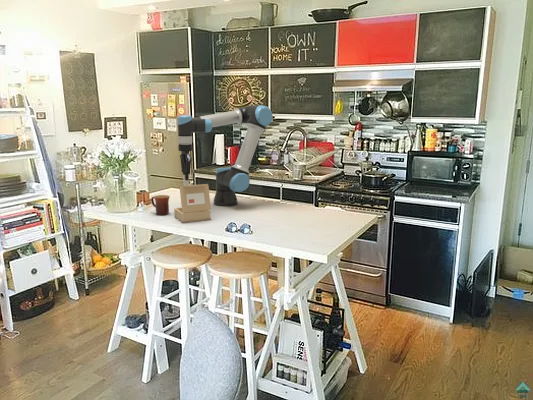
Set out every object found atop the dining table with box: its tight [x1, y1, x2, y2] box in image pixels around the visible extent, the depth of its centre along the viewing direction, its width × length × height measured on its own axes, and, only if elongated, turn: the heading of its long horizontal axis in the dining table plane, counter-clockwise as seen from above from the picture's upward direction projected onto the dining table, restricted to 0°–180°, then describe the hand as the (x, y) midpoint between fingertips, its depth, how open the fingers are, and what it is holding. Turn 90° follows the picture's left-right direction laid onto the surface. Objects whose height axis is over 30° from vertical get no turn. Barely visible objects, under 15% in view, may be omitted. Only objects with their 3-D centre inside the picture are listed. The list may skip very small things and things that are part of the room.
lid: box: [179, 183, 212, 213], centre depth 241 cm, size 16×14×4 cm
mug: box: [150, 194, 171, 216], centre depth 258 cm, size 12×9×10 cm
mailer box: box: [174, 207, 212, 224], centre depth 249 cm, size 16×14×5 cm
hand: (186, 185), depth 253 cm, fingers closed
